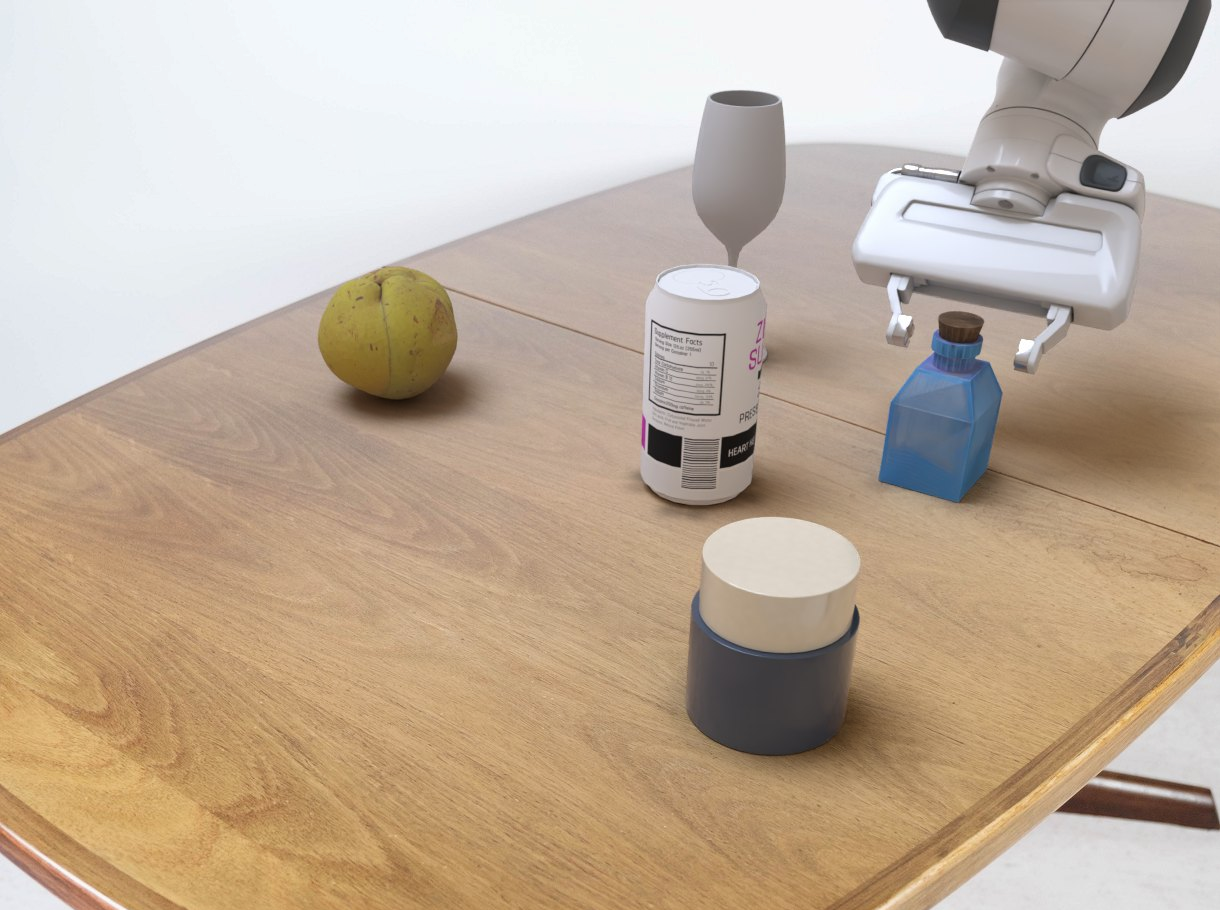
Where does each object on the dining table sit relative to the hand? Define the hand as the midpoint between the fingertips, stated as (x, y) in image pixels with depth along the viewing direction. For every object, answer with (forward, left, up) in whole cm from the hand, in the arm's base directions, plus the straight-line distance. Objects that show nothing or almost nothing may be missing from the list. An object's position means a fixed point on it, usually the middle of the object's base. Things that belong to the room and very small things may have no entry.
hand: (958, 355), depth 96 cm
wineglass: (+19, -18, -9) cm, 28 cm away
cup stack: (+8, +33, -9) cm, 36 cm away
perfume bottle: (0, +1, -9) cm, 9 cm away
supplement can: (+17, +7, -9) cm, 21 cm away
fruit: (+44, -2, -9) cm, 45 cm away
